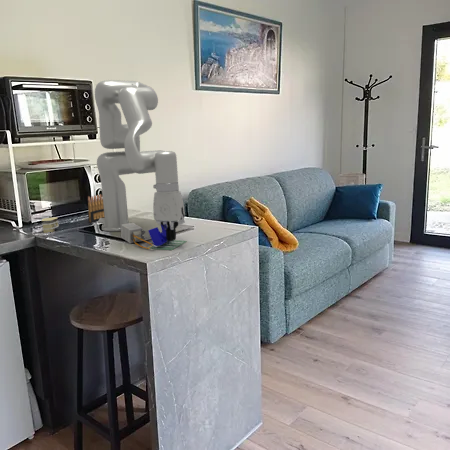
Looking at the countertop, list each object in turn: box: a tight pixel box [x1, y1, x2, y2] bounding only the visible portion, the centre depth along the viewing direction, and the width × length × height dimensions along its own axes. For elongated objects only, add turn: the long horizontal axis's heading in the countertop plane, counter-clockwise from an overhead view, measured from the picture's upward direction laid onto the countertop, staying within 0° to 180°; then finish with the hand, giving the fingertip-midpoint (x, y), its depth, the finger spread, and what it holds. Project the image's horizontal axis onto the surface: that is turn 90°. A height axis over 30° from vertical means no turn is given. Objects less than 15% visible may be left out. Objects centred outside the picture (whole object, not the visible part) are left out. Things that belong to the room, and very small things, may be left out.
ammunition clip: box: [87, 193, 105, 224], centre depth 209 cm, size 11×2×12 cm, turn 150°
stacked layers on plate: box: [41, 216, 60, 234], centre depth 191 cm, size 10×9×6 cm
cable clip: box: [148, 224, 167, 247], centre depth 161 cm, size 12×4×6 cm, turn 165°
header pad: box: [146, 239, 188, 251], centre depth 161 cm, size 10×12×1 cm
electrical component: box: [120, 222, 157, 251], centre depth 162 cm, size 24×6×5 cm, turn 40°
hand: (171, 240), depth 159 cm, fingers closed
